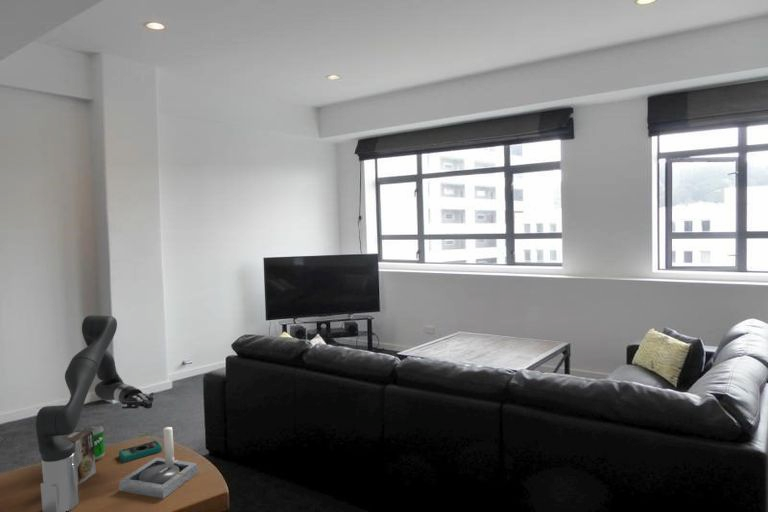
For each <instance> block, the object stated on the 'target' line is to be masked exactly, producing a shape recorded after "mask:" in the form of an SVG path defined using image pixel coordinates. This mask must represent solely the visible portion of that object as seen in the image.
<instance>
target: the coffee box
mask: <svg viewBox="0 0 768 512" xmlns="http://www.w3.org/2000/svg"><path fill="white" fill-rule="evenodd" d="M63 439H65V440H68V441H71V442H72V443H73V444H74V446H75V458H76V472H77V485H78V486H80V485H81V484H82V483H84V482H85V481H87V480H88V479H90V478H91V477H92V476H94V474H96V473H97V467H96V461H95V452H94V441H93V431H90V430H83V429H76V430H74V431H73V432H72V433H71V434H68V435H65V436H64V437H63ZM79 484H80V485H79Z"/></svg>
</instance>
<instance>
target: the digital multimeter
mask: <svg viewBox="0 0 768 512" xmlns="http://www.w3.org/2000/svg"><path fill="white" fill-rule="evenodd" d="M162 445H163V444H162V443H161V442H159V441H157V440H152V441H150V442H146V443H142V444H138V445H135V446H131V447H127V448H123V449H120V450H119V451H118V457H119V459H120V460H121V461H122V463H126V462H130V461H133V460H136V459H139V458H143V457H147V456H150V455H153V454H157V453H160V452H162V451H163V447H162Z"/></svg>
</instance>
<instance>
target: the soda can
mask: <svg viewBox="0 0 768 512" xmlns="http://www.w3.org/2000/svg"><path fill="white" fill-rule="evenodd" d="M82 430H90V431H93V441H94V452H95V462H97V461H98V460H101V459H102V458H103V457H104V456H105V454H106V449H105V436H104V427H102V426H101V425H100V424H92V425H88V426H86V427H84V428H83V429H82Z"/></svg>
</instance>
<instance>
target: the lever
mask: <svg viewBox="0 0 768 512" xmlns="http://www.w3.org/2000/svg"><path fill="white" fill-rule="evenodd" d="M162 431H163V447H164V459H165V464H163V465H157V466H154V467H151V468H148V469H146V470H145V471H143V472H142V473H141V474H140V476H139V481H143V482H149V483H155V484H161V485H163V484H164V483H165V482H167V481H168V480H169V479H171V478H172V477H174V476H175V475H176V474H178V473H179V472H180V471H179V467H178V466H176V465H175V464H174V460H175V451H174V450H175V449H174V434H173V433H174V432H173V431H174V430H173V427H172V426H166V427H164V428H163V430H162Z"/></svg>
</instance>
